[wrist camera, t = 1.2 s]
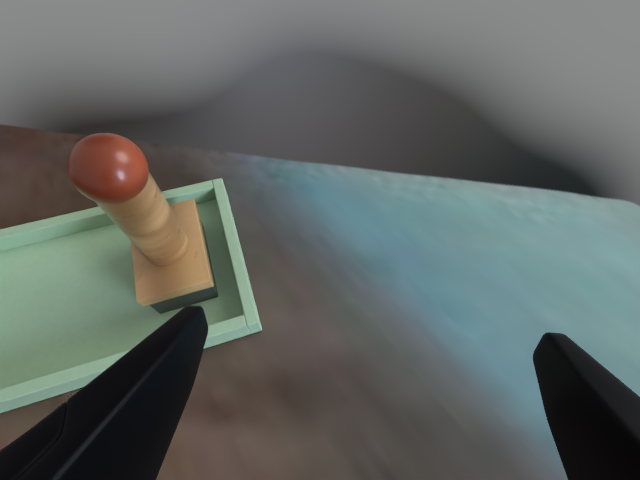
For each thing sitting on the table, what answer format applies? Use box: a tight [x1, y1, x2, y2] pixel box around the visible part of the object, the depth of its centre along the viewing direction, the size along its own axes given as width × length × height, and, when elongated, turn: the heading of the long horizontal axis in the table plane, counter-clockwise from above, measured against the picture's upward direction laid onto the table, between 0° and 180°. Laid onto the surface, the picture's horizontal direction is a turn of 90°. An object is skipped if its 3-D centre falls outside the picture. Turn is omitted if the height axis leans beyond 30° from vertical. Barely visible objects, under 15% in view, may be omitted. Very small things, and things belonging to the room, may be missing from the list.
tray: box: [0, 178, 262, 413], centre depth 25 cm, size 19×12×2 cm, turn 108°
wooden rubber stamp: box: [67, 133, 218, 314], centre depth 20 cm, size 4×6×13 cm
